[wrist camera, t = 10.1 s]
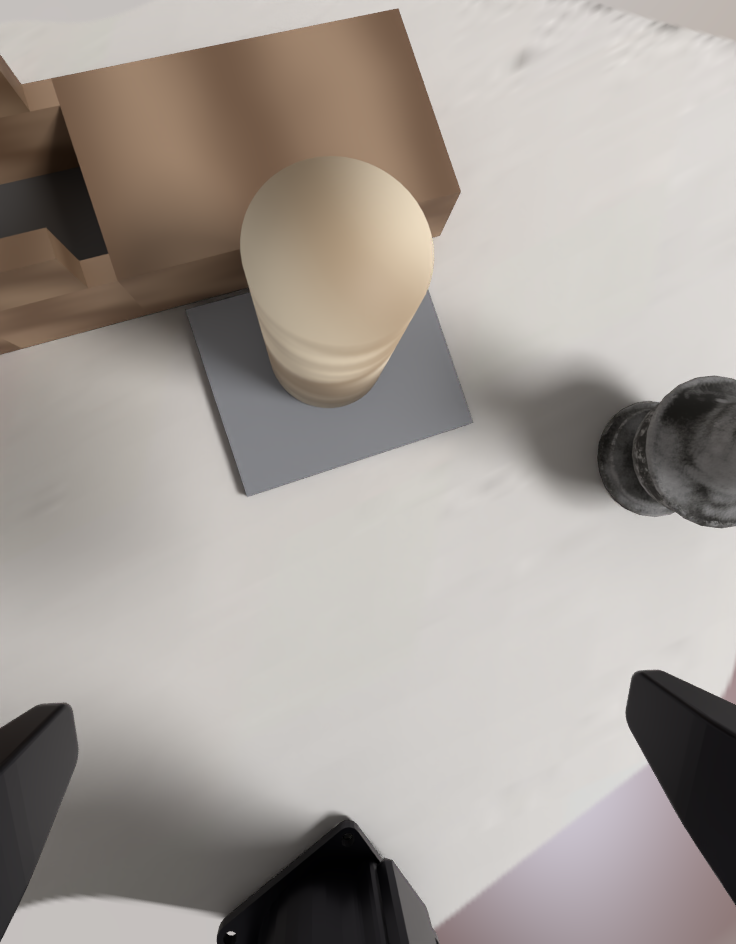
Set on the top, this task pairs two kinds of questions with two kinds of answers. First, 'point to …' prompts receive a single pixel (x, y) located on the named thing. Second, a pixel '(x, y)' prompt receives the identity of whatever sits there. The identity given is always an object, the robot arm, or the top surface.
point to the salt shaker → (676, 454)
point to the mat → (313, 428)
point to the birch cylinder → (334, 274)
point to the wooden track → (191, 165)
